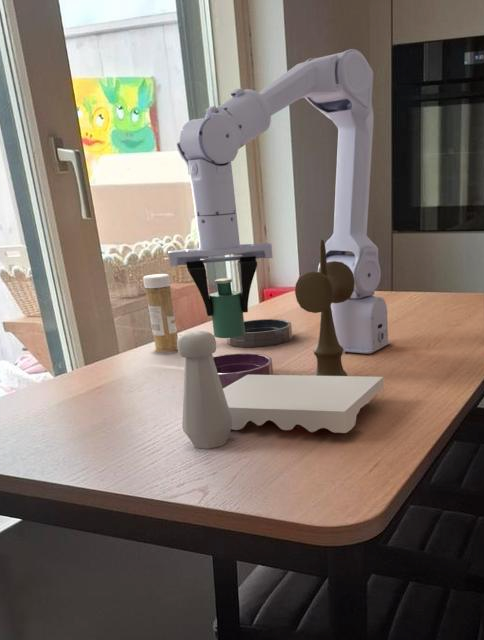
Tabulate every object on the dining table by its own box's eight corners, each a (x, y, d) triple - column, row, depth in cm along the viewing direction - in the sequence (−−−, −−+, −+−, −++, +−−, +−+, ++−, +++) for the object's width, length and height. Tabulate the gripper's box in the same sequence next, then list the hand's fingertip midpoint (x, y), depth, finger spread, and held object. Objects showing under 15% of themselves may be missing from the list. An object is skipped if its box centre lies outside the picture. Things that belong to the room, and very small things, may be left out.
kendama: (359, 373, 106) (353, 235, 98) (338, 392, 98) (330, 242, 90) (322, 372, 108) (314, 236, 100) (299, 390, 100) (288, 243, 92)
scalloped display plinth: (196, 431, 87) (346, 439, 80) (192, 406, 86) (344, 411, 79) (250, 397, 100) (384, 401, 93) (247, 374, 99) (383, 376, 92)
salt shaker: (188, 436, 85) (172, 329, 80) (235, 432, 86) (222, 325, 80) (183, 453, 80) (165, 340, 75) (233, 449, 80) (219, 336, 75)
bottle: (250, 331, 106) (244, 276, 102) (237, 338, 102) (231, 281, 98) (222, 331, 107) (215, 277, 104) (209, 338, 103) (201, 282, 100)
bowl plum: (288, 375, 108) (287, 356, 107) (242, 397, 99) (240, 377, 97) (226, 369, 114) (224, 350, 112) (177, 389, 104) (174, 370, 103)
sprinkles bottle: (184, 350, 127) (173, 274, 122) (160, 355, 125) (148, 277, 120) (174, 346, 131) (163, 272, 125) (151, 351, 129) (138, 275, 123)
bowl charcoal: (304, 336, 132) (303, 320, 131) (268, 351, 123) (266, 334, 122) (252, 333, 138) (251, 317, 137) (214, 347, 129) (212, 330, 127)
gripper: (263, 209, 102) (272, 303, 108) (163, 216, 100) (177, 313, 105) (270, 211, 96) (279, 311, 101) (163, 219, 93) (178, 321, 99)
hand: (227, 313), depth 103 cm, fingers closed on bottle, 4 cm apart
